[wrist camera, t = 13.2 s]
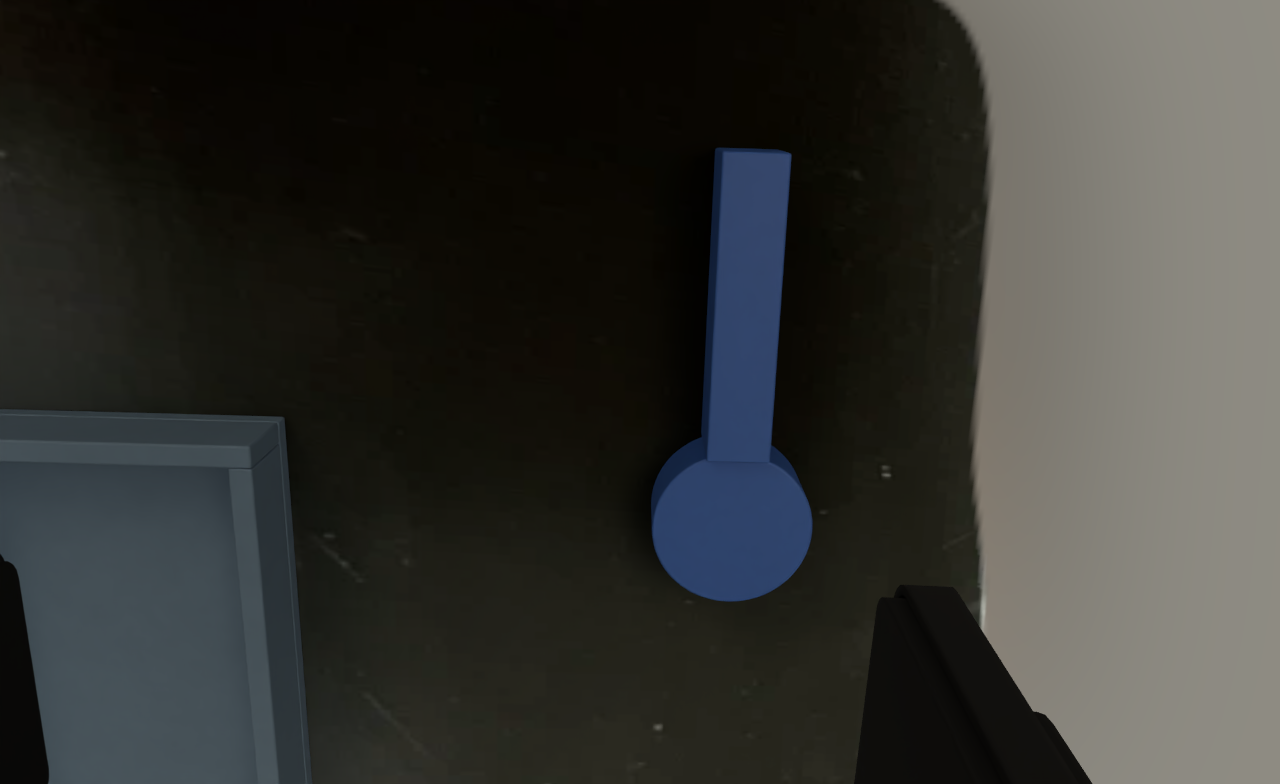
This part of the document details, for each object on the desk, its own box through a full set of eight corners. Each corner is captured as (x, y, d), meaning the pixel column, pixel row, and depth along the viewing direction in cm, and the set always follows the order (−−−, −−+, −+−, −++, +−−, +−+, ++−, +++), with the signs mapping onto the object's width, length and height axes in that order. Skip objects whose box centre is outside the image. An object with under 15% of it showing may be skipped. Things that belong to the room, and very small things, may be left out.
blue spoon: (663, 145, 24) (665, 149, 22) (830, 150, 24) (848, 154, 22) (648, 569, 28) (649, 607, 25) (795, 573, 28) (809, 612, 26)
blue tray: (-57, 406, 26) (-127, 436, 24) (285, 416, 26) (249, 446, 24) (25, 870, 30) (-27, 934, 28) (319, 876, 31) (292, 941, 28)
